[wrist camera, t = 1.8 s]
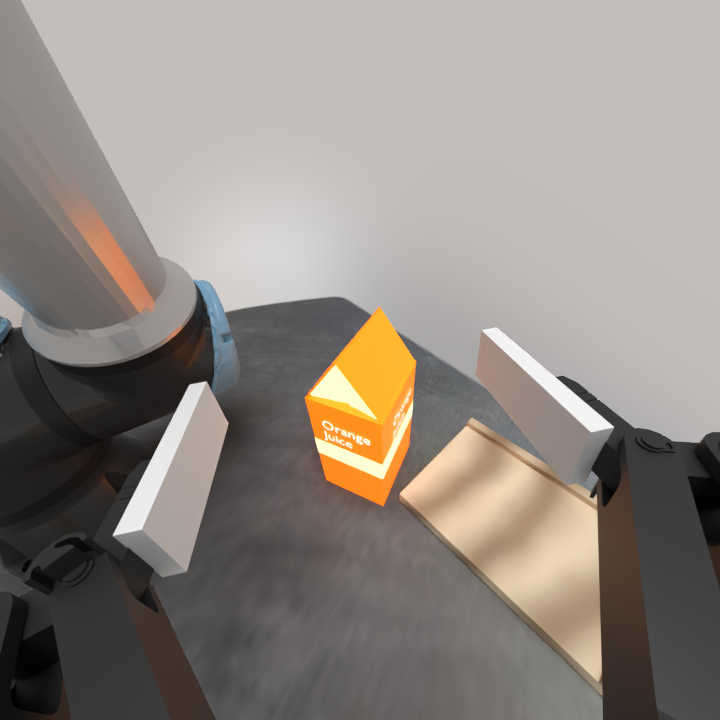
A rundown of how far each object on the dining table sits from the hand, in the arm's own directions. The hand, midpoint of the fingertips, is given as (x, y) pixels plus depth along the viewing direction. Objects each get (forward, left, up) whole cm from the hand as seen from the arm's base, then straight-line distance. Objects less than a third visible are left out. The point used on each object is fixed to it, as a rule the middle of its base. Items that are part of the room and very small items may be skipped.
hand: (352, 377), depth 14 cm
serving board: (+9, +13, -24) cm, 29 cm away
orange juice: (-7, +7, -24) cm, 26 cm away
